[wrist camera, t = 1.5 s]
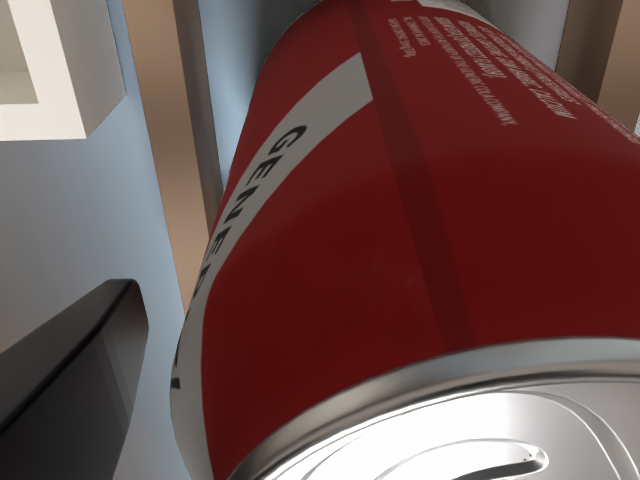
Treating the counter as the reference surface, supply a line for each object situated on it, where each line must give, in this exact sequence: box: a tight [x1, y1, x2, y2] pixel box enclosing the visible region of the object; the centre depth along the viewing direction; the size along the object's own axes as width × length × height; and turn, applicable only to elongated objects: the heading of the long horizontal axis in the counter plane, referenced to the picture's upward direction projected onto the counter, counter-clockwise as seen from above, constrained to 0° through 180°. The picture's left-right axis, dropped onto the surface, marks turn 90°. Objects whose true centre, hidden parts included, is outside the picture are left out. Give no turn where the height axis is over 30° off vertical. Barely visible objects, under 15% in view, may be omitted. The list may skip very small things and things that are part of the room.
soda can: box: [170, 0, 640, 480], centre depth 10 cm, size 7×7×12 cm
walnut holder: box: [122, 0, 640, 318], centre depth 14 cm, size 11×11×2 cm
